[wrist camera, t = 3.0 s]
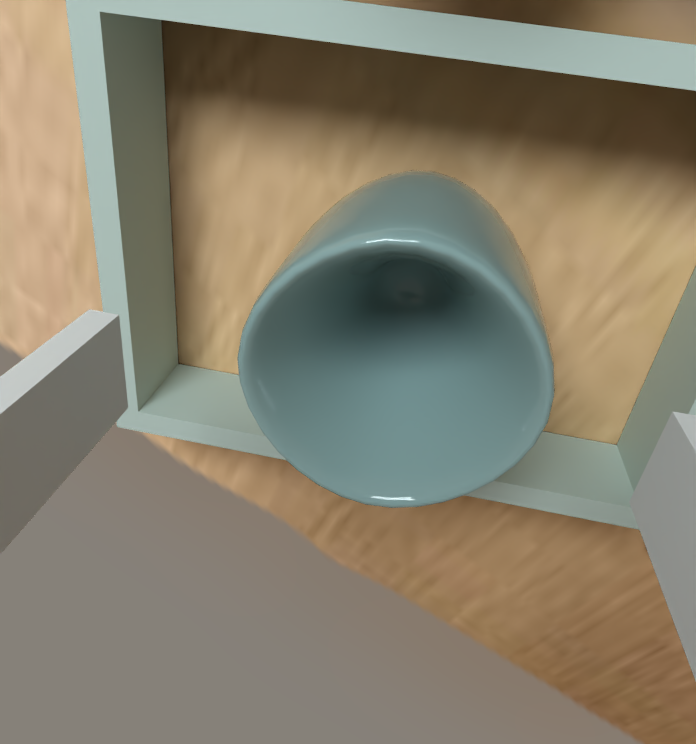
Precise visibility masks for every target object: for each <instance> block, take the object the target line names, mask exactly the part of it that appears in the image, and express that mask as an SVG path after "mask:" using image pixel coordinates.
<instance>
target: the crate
mask: <svg viewBox="0 0 696 744" xmlns="http://www.w3.org/2000/svg"><path fill="white" fill-rule="evenodd" d="M66 8H67V16H68V24H69V32H70V41H71V49H72V57H73V65H74V74H75V82H76V90H77V99H78V107H79V115H80V123H81V132H82V140H83V148H84V156H85V165H86V173H87V181H88V189H89V198H90V206H91V214H92V222H93V231H94V239H95V247H96V256H97V264H98V272H99V280H100V289H101V297H102V305H103V312H107V313H112V314H118V315H119V319H120V329H121V339H122V349H123V359H124V370H125V380H126V390H127V400H128V409H127V410H126V411H125V412H124V413H123V414H122V416H121V417H120V418H119V419H118V420H117V427H120V428H125V429H130V430H135V431H141V432H146V433H151V434H156V435H161V436H166V437H171V438H176V439H181V440H186V441H191V442H196V443H202V444H207V445H212V446H217V447H222V448H227V449H232V450H237V451H242V452H247V453H252V454H257V455H262V456H268V457H273V458H278V459H283V460H286V459H285V458H284V457H283V456H282V455H281V454H280V453H279V452H278V451H277V450H276V449H275V447H274V446H273V445H272V444H271V442H270V441H269V440H268V439H267V437H266V436H265V435H264V434H263V432H262V431H261V429H260V427H259V426H258V424H257V422H256V420H255V418H254V417H253V415H252V413H251V411H250V409H249V408H248V405H247V402H246V399H245V396H244V393H243V390H242V387H241V384H240V379H239V375H236V374H231V373H225V372H220V371H214V370H209V369H204V368H198V367H193V366H187V365H182V364H178V346H177V326H176V306H175V286H174V266H173V245H172V225H171V205H170V185H169V165H168V145H167V125H166V104H165V84H164V64H163V44H162V24H161V20H166V21H174V22H182V23H189V24H197V25H204V26H212V27H219V28H227V29H234V30H242V31H249V32H257V33H264V34H272V35H279V36H287V37H295V38H302V39H310V40H317V41H325V42H332V43H340V44H347V45H355V46H362V47H370V48H377V49H385V50H393V51H400V52H408V53H415V54H423V55H430V56H438V57H445V58H453V59H460V60H468V61H475V62H483V63H490V64H498V65H506V66H513V67H521V68H528V69H536V70H543V71H551V72H558V73H566V74H573V75H581V76H588V77H596V78H603V79H611V80H619V81H626V82H634V83H641V84H649V85H656V86H664V87H671V88H679V89H686V90H694V91H696V45H692V44H684V43H676V42H668V41H660V40H653V39H645V38H637V37H629V36H621V35H613V34H605V33H597V32H589V31H581V30H573V29H565V28H557V27H550V26H542V25H534V24H526V23H518V22H510V21H502V20H494V19H486V18H478V17H470V16H462V15H454V14H446V13H439V12H431V11H423V10H415V9H407V8H399V7H391V6H383V5H375V4H367V3H359V2H351V1H343V0H66ZM672 411H673V412H679V413H685V414H690V415H696V267H695V269H694V271H693V274H692V276H691V278H690V280H689V283H688V285H687V287H686V289H685V292H684V294H683V296H682V298H681V301H680V303H679V305H678V308H677V310H676V312H675V314H674V317H673V319H672V321H671V323H670V326H669V328H668V330H667V332H666V335H665V337H664V339H663V341H662V344H661V346H660V348H659V350H658V353H657V355H656V357H655V360H654V362H653V364H652V366H651V369H650V371H649V373H648V375H647V378H646V380H645V382H644V384H643V387H642V389H641V391H640V393H639V396H638V398H637V400H636V402H635V405H634V407H633V409H632V412H631V414H630V416H629V418H628V421H627V423H626V425H625V427H624V430H623V432H622V434H621V436H620V439H619V441H618V443H617V445H614V444H608V443H603V442H598V441H592V440H587V439H581V438H576V437H571V436H565V435H560V434H554V433H549V432H544V431H542V433H541V435H540V437H539V438H538V440H537V442H536V444H535V445H534V446H533V447H532V448H531V449H530V450H529V451H528V453H527V454H526V455H525V456H524V457H523V458H522V459H521V460H520V461H519V462H518V463H517V464H516V465H515V466H513V467H512V468H511V469H509V470H508V471H507V472H505V473H504V474H502V475H501V476H500V477H498V478H497V479H496V480H494V481H493V482H491V483H489V484H487V485H485V486H483V487H481V488H479V489H477V490H475V491H473V492H471V493H469V494H466V496H471V497H476V498H481V499H486V500H491V501H496V502H501V503H506V504H511V505H516V506H521V507H527V508H532V509H537V510H542V511H547V512H552V513H557V514H562V515H567V516H572V517H577V518H582V519H587V520H593V521H598V522H603V523H608V524H613V525H618V526H623V527H628V528H633V529H638V530H639V527H638V524H637V522H636V519H635V516H634V514H633V511H632V508H631V505H630V503H629V501H630V499H631V497H632V495H633V493H634V491H635V489H636V486H637V484H638V482H639V480H640V478H641V476H642V474H643V472H644V470H645V468H646V466H647V463H648V461H649V459H650V457H651V455H652V453H653V451H654V449H655V447H656V445H657V442H658V440H659V438H660V436H661V434H662V432H663V430H664V428H665V426H666V424H667V422H668V419H669V417H670V415H671V413H672Z"/></svg>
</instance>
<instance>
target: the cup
mask: <svg viewBox="0 0 696 744" xmlns="http://www.w3.org/2000/svg"><path fill="white" fill-rule="evenodd" d="M238 368H239V379H240V384H241V387H242V390H243V393H244V396H245V399H246V402H247V405H248V408H249V409H250V411H251V413H252V415H253V417H254V418H255V420H256V422H257V424H258V426H259V427H260V429H261V431H262V432H263V434H264V435H265V436H266V437H267V439H268V440H269V441H270V442H271V444H272V445H273V446H274V447H275V449H276V450H277V451H278V452H279V453H280V454H281V455H282V456H283V457H284V458H285V459H286V460H287V461H288V462H289V463H290V464H291V465H292V466H293V467H295V468H296V469H297V470H298V471H299V472H301V473H302V474H304V475H305V476H306V477H308V478H309V479H311V480H312V481H313V482H315V483H316V484H318V485H319V486H321V487H323V488H325V489H327V490H329V491H331V492H333V493H335V494H337V495H339V496H341V497H344V498H347V499H350V500H354V501H357V502H360V503H363V504H367V505H374V506H382V507H390V508H398V507H419V506H425V505H430V504H435V503H441V502H445V501H448V500H451V499H454V498H457V497H460V496H463V495H466V494H469V493H471V492H473V491H475V490H477V489H479V488H481V487H483V486H485V485H487V484H489V483H491V482H493V481H494V480H496V479H497V478H498V477H500V476H501V475H502V474H504V473H505V472H507V471H508V470H509V469H511V468H512V467H513V466H515V465H516V464H517V463H518V462H519V461H520V460H521V459H522V458H523V457H524V456H525V455H526V454H527V453H528V451H529V450H530V449H531V448H532V447H533V446H534V445H535V444H536V442H537V440H538V438H539V437H540V435H541V433H542V431H543V429H544V428H545V426H546V424H547V422H548V419H549V415H550V410H551V406H552V402H553V397H554V392H555V385H554V362H553V353H552V348H551V343H550V339H549V335H548V332H547V328H546V324H545V321H544V317H543V313H542V310H541V306H540V303H539V299H538V295H537V292H536V288H535V285H534V281H533V278H532V275H531V272H530V269H529V266H528V264H527V261H526V259H525V257H524V255H523V253H522V251H521V249H520V247H519V245H518V243H517V241H516V239H515V237H514V235H513V233H512V231H511V230H510V228H509V226H508V225H507V224H506V222H505V221H504V220H503V219H502V217H501V216H500V215H499V213H498V212H497V211H496V209H495V208H494V207H493V206H492V205H491V204H490V203H489V202H488V201H487V200H486V199H485V198H484V197H482V196H481V195H480V194H479V193H478V192H477V191H476V190H475V189H473V188H471V187H470V186H468V185H466V184H464V183H463V182H461V181H459V180H458V179H456V178H453V177H450V176H447V175H444V174H440V173H437V172H434V171H414V170H411V171H405V172H399V173H394V174H389V175H386V176H384V177H381V178H379V179H376V180H373V181H371V182H368V183H366V184H365V185H363V186H361V187H360V188H358V189H356V190H355V191H353V192H351V193H350V194H348V195H347V196H345V197H343V198H342V199H341V200H340V201H338V202H337V203H336V204H335V205H334V206H333V207H332V208H330V209H329V210H328V211H327V212H326V213H325V214H324V215H323V216H321V217H320V218H319V219H318V220H317V221H316V222H315V223H314V224H313V225H312V226H311V228H310V229H309V230H308V231H307V232H306V233H305V235H304V236H303V237H302V238H301V240H300V241H299V242H298V244H297V245H296V246H295V247H294V249H293V250H292V251H291V253H290V254H289V255H288V257H287V258H286V259H285V260H284V262H283V263H282V264H281V266H280V267H279V268H278V270H277V271H276V272H275V274H274V275H273V276H272V278H271V279H270V280H269V282H268V283H267V284H266V286H265V287H264V289H263V290H262V292H261V293H260V295H259V296H258V298H257V300H256V302H255V304H254V306H253V308H252V310H251V312H250V314H249V317H248V319H247V321H246V323H245V325H244V327H243V331H242V336H241V342H240V347H239V353H238Z"/></svg>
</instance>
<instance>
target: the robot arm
mask: <svg viewBox="0 0 696 744" xmlns="http://www.w3.org/2000/svg"><path fill="white" fill-rule="evenodd" d="M127 409H128V400H127V390H126V380H125V370H124V359H123V349H122V339H121V329H120V319H119V315H118V314H112V313H107V312H101V311H95V310H88V311H87V312H85V313H84V314H83V315H81V316H80V317H79V318H77V319H76V320H75V321H73V322H72V323H71V324H69V325H68V326H67V327H65V328H64V329H63V330H61V331H60V332H59V333H57V334H56V335H55V336H53V337H52V338H51V339H50V340H48V341H47V342H46V343H44V344H43V345H42V346H40V347H39V348H38V349H36V350H35V351H34V352H32V353H31V354H30V355H28V356H27V357H26V358H24V359H23V360H22V361H20V362H19V363H18V364H17V365H15V366H14V367H12V368H11V369H10V370H8V371H7V372H6V373H5V374H3V375H2V376H1V377H0V554H1V553H2V552H3V551H4V550H5V548H6V547H7V546H8V545H9V544H10V543H11V541H12V540H13V539H14V538H15V537H16V536H17V535H18V534H19V532H20V531H21V530H22V529H23V528H24V527H25V526H26V524H27V523H28V522H29V521H30V520H31V519H32V517H33V516H34V515H35V514H36V513H37V511H38V510H39V509H40V508H41V507H42V506H43V505H44V504H45V503H46V501H47V500H48V499H49V498H50V497H51V496H52V495H53V493H54V492H55V491H56V490H57V489H58V487H59V486H60V485H61V484H62V483H63V482H64V481H65V480H66V479H67V477H68V476H69V475H70V474H71V473H72V472H73V471H74V469H75V468H76V467H77V466H78V465H79V464H80V463H81V461H82V460H83V459H84V458H85V457H86V456H87V455H88V453H89V452H90V451H91V450H92V449H93V448H94V446H95V445H96V444H97V443H98V442H99V441H100V440H101V438H102V437H103V436H104V435H105V434H106V433H107V432H108V430H109V429H110V428H111V427H112V426H113V425H114V424H115V422H116V421H117V420H118V419H119V418H120V417H121V416H122V414H123V413H124V412H125V411H126V410H127ZM629 503H630V505H631V508H632V511H633V514H634V516H635V519H636V522H637V524H638V527H639V530H640V532H641V535H642V538H643V541H644V543H645V546H646V549H647V551H648V554H649V557H650V559H651V562H652V565H653V567H654V570H655V573H656V576H657V578H658V581H659V584H660V586H661V589H662V592H663V594H664V597H665V600H666V603H667V605H668V608H669V611H670V613H671V616H672V619H673V621H674V624H675V627H676V630H677V632H678V635H679V638H680V640H681V643H682V646H683V648H684V651H685V654H686V657H687V659H688V662H689V665H690V667H691V670H692V673H693V675H694V678H695V681H696V415H690V414H685V413H679V412H673V411H672V413H671V415H670V417H669V419H668V422H667V424H666V426H665V428H664V430H663V432H662V434H661V436H660V438H659V440H658V442H657V445H656V447H655V449H654V451H653V453H652V455H651V457H650V459H649V461H648V463H647V466H646V468H645V470H644V472H643V474H642V476H641V478H640V480H639V482H638V484H637V486H636V489H635V491H634V493H633V495H632V497H631V499H630V501H629Z"/></svg>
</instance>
